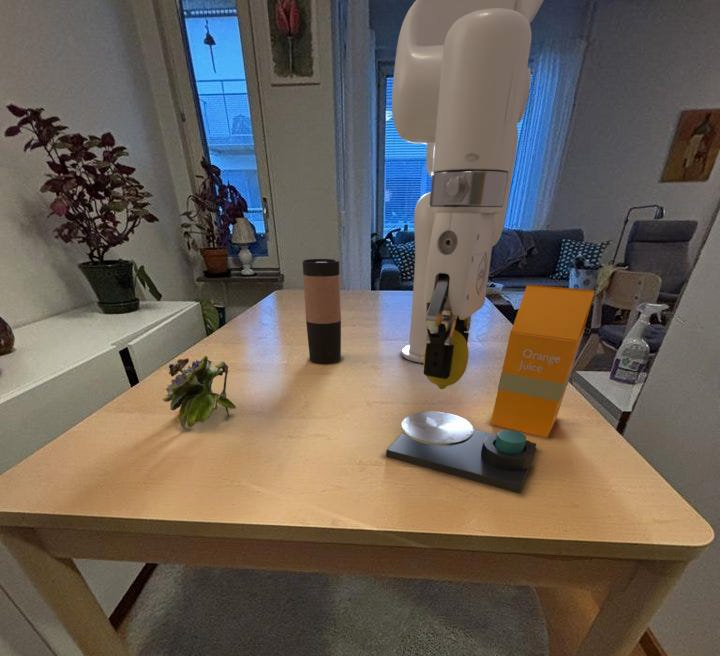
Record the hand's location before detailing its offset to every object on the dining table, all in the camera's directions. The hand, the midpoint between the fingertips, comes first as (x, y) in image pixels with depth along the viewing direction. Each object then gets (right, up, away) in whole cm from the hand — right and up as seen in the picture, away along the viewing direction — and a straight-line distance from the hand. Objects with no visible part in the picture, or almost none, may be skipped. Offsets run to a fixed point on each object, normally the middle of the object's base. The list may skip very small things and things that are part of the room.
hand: (444, 367), depth 51 cm
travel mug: (-19, +13, +40) cm, 47 cm away
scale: (+3, -11, +5) cm, 12 cm away
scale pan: (0, -7, +5) cm, 9 cm away
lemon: (0, -3, +2) cm, 3 cm away
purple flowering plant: (-36, -4, +15) cm, 40 cm away
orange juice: (+16, -5, +14) cm, 22 cm away
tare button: (+9, -10, +1) cm, 14 cm away
